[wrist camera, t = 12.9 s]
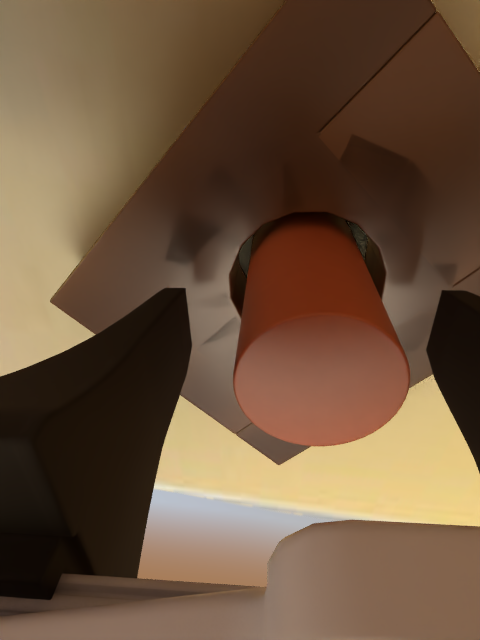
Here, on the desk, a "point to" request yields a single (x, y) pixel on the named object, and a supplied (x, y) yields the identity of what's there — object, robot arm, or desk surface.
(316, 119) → the block with round hole
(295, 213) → the peg
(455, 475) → the desk surface
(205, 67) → the desk surface
